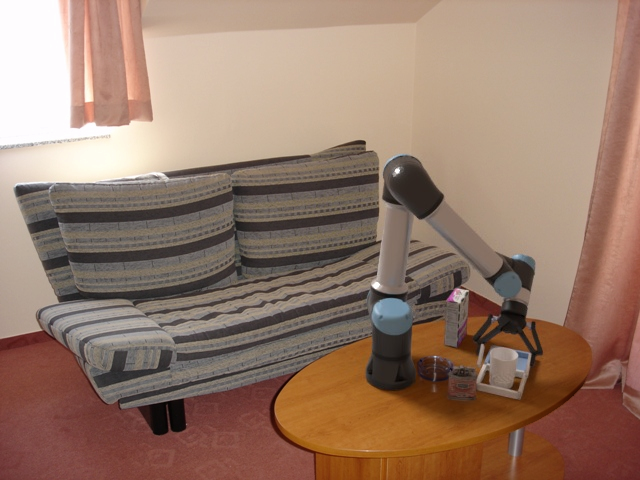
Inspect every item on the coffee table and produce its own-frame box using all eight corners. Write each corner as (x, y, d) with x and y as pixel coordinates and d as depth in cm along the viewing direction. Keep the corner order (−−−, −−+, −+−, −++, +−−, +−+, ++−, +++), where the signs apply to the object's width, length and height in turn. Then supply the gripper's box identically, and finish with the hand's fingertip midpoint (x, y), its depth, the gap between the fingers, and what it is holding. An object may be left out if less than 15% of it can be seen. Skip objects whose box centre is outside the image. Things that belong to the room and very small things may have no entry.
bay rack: (474, 389, 188) (474, 383, 187) (491, 350, 209) (491, 345, 208) (520, 400, 182) (521, 393, 182) (532, 358, 204) (533, 353, 203)
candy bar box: (452, 331, 222) (455, 287, 216) (466, 334, 220) (470, 290, 214) (442, 345, 213) (445, 300, 207) (457, 348, 210) (461, 303, 205)
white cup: (485, 376, 194) (487, 346, 191) (511, 376, 194) (514, 347, 191) (490, 390, 187) (493, 360, 184) (517, 391, 187) (521, 360, 183)
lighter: (447, 399, 183) (449, 369, 180) (446, 393, 186) (448, 362, 183) (476, 401, 182) (478, 370, 179) (475, 395, 185) (477, 364, 182)
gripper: (558, 315, 193) (547, 384, 185) (475, 301, 203) (461, 365, 195) (558, 306, 187) (547, 377, 179) (472, 292, 197) (457, 358, 189)
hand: (502, 371), depth 187 cm, fingers open, 13 cm apart
